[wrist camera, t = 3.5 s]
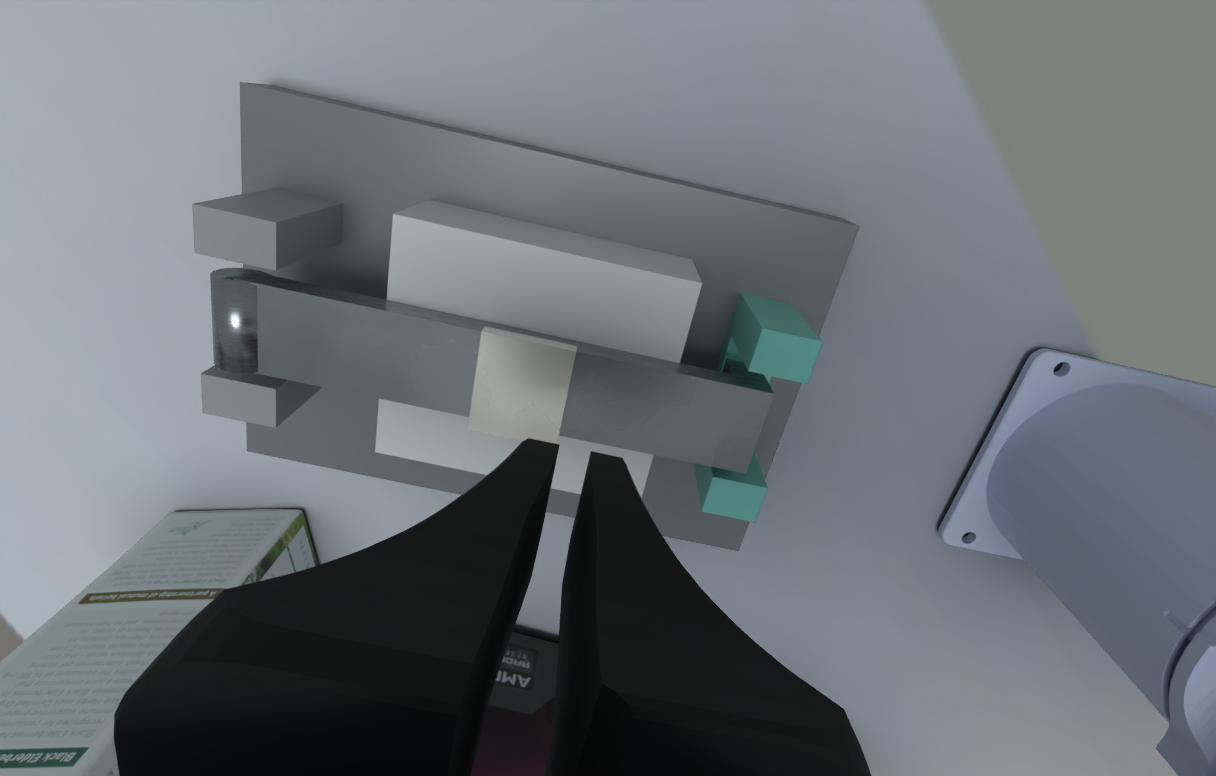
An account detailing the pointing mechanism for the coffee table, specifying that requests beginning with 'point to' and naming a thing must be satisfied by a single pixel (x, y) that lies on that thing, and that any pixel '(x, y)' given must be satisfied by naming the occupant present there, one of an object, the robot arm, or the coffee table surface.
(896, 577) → the coffee table surface
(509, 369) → the clamp strap
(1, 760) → the syrup box
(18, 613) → the coffee table surface
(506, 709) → the graphics card box
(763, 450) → the clamp board
